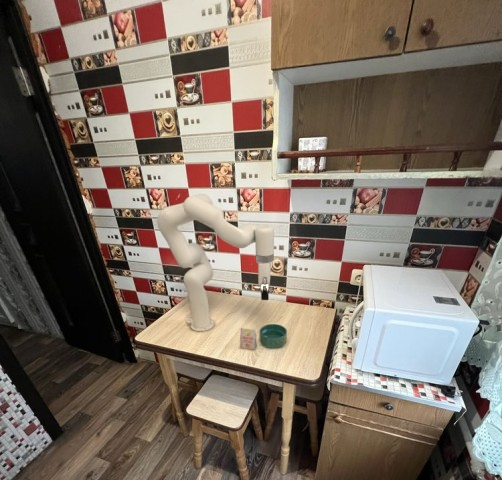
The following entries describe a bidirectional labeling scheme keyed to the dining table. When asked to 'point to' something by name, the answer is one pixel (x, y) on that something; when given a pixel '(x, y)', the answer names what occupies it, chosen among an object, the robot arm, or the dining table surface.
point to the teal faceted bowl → (273, 336)
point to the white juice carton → (248, 339)
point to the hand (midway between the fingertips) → (265, 295)
